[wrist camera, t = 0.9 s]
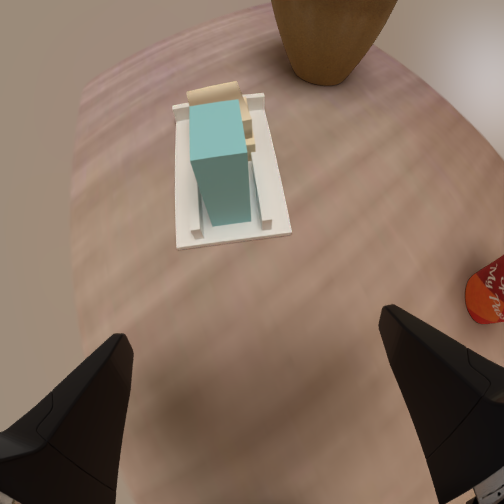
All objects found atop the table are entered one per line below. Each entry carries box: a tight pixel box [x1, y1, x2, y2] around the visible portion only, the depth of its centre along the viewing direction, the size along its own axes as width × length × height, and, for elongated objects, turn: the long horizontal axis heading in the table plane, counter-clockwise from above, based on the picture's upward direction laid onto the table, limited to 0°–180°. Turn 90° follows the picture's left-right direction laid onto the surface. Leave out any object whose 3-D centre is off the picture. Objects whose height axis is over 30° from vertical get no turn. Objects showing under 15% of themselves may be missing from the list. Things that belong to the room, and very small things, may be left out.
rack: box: [172, 93, 292, 250], centre depth 27 cm, size 16×10×3 cm, turn 8°
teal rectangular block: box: [189, 99, 251, 227], centre depth 22 cm, size 5×3×10 cm
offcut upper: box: [187, 81, 252, 139], centre depth 25 cm, size 6×5×2 cm
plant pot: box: [271, 0, 397, 86], centre depth 26 cm, size 15×15×16 cm
